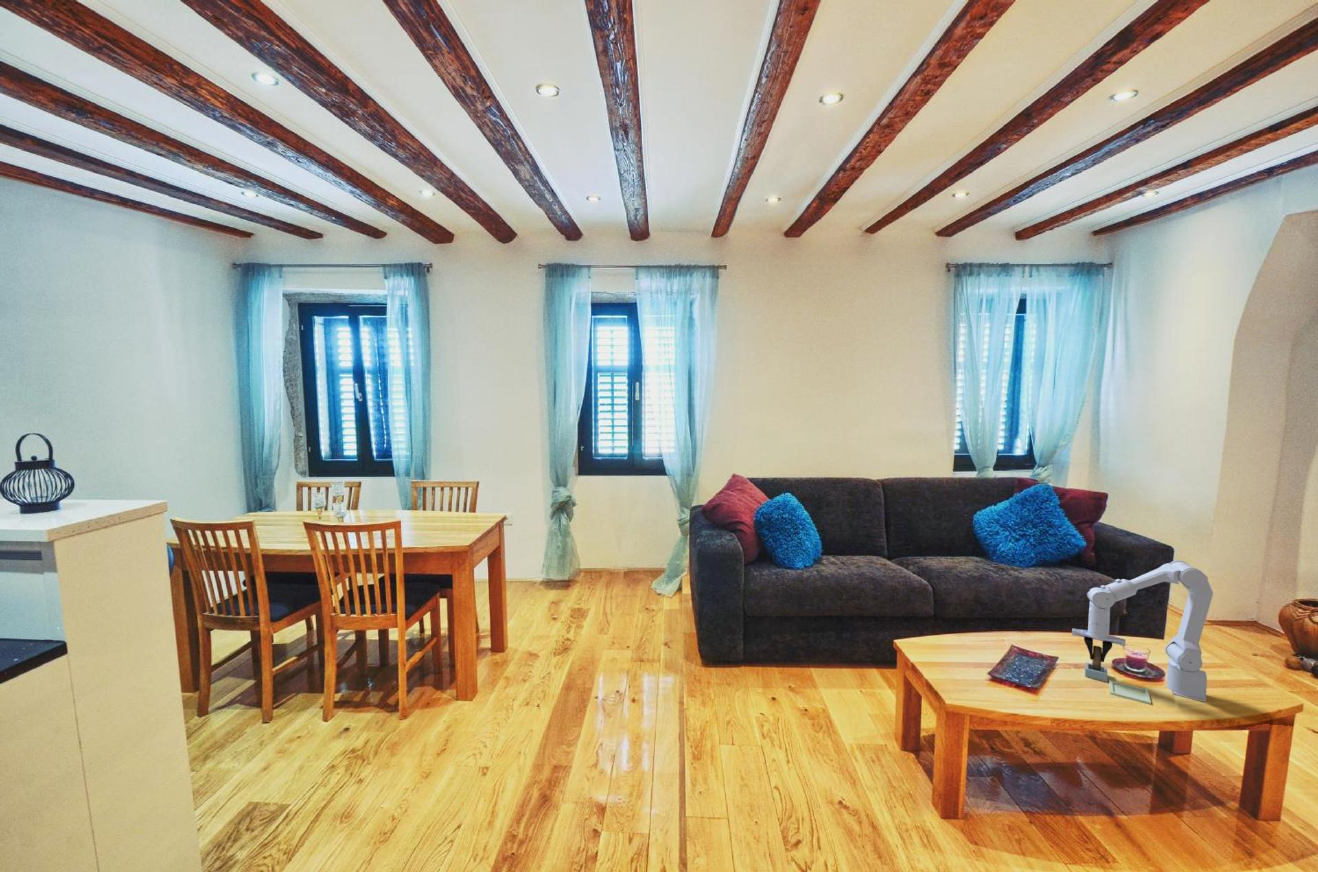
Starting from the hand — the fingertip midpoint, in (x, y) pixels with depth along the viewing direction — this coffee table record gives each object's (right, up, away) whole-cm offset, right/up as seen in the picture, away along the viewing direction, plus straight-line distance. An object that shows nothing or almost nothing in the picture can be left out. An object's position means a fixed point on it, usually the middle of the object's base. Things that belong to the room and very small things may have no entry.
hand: (1096, 659), depth 189 cm
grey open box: (0, -7, 0) cm, 7 cm away
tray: (+2, -7, -10) cm, 13 cm away
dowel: (0, -3, 0) cm, 3 cm away
